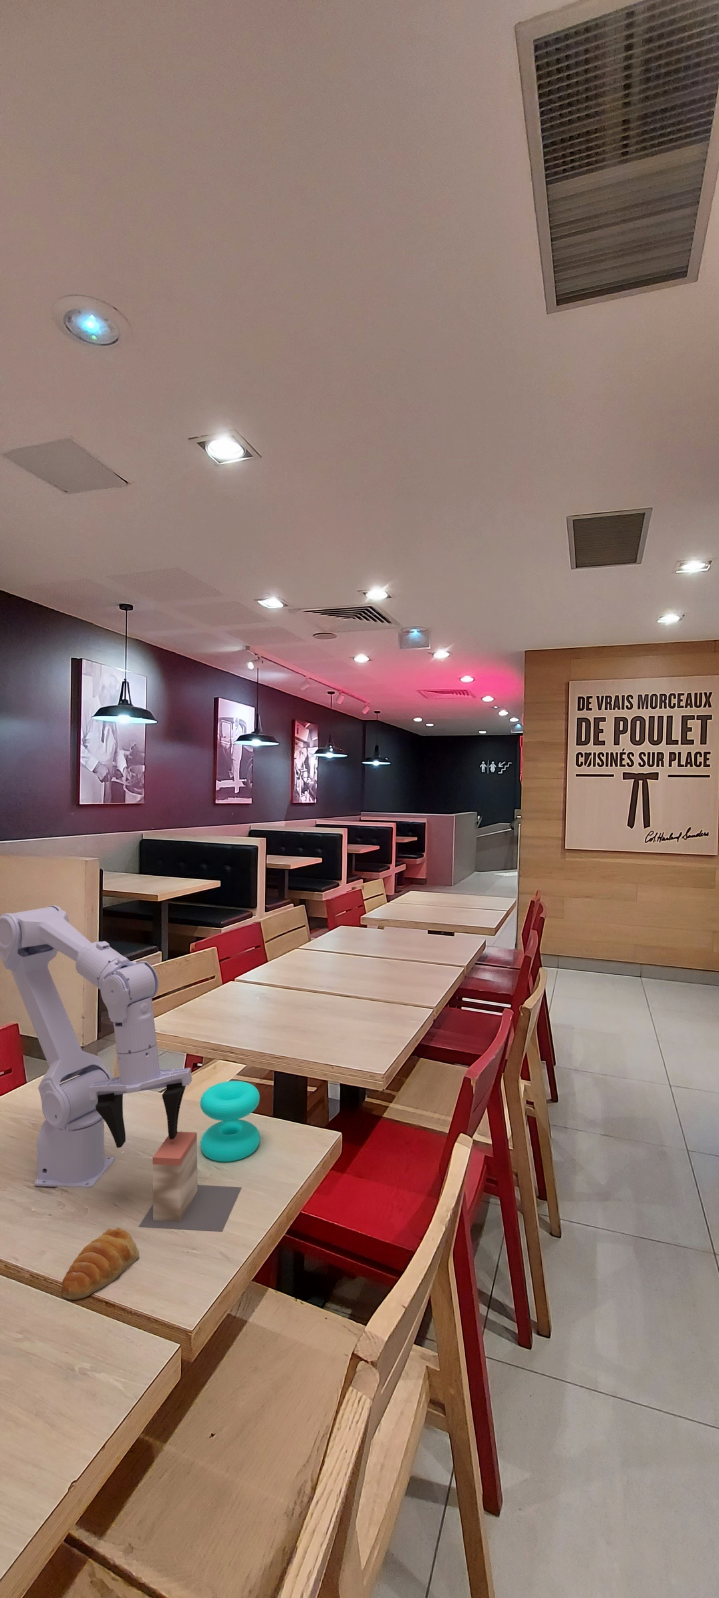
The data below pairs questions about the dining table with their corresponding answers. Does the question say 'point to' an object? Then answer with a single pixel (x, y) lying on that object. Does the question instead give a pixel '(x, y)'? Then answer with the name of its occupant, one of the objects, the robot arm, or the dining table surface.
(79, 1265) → the pastry
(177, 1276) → the dining table surface
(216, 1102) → the donuts
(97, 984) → the robot arm
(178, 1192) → the block
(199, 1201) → the mat
